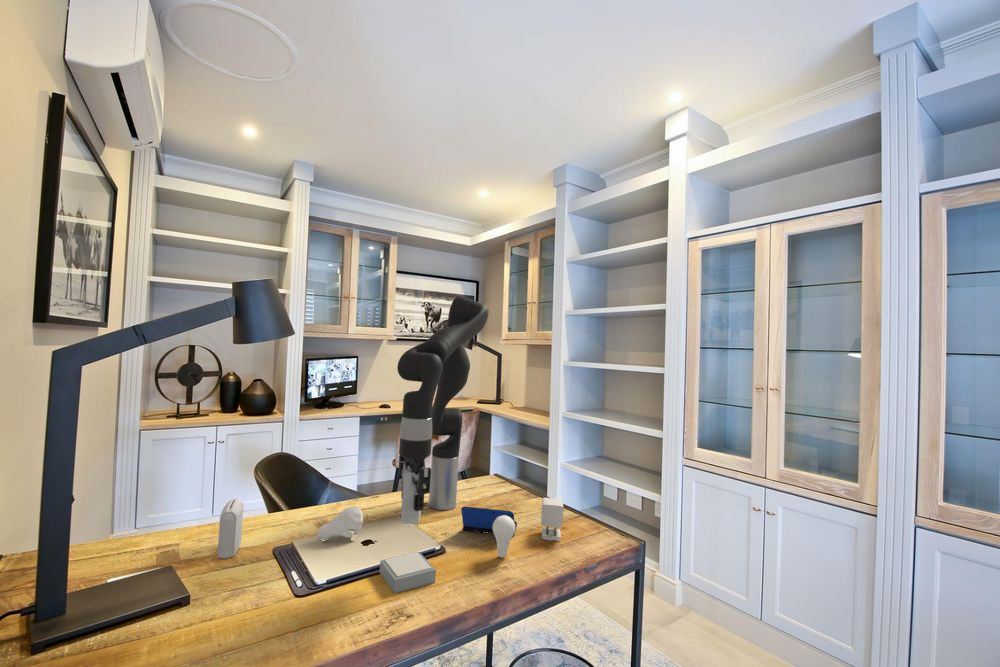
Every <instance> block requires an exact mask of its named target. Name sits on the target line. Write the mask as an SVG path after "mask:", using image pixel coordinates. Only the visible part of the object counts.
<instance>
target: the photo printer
mask: <svg viewBox="0 0 1000 667" xmlns="http://www.w3.org/2000/svg"><path fill="white" fill-rule="evenodd" d="M243 523H244V502H243V501H242V500H241V499H240V498H235V499H234V498H232V499H230V500H229V501H228V502H226V504H225V505H224V507H223V508H222V510H221V513H220V517H219V529H218V541H217V542H218V543H217V557H218V558H219V559H229V558H232V557H234V556H235V555H236V553H237V552H238V549H239V548H240V546H241V543H242V538H243V536H242V535H243Z"/></svg>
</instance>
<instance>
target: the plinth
mask: <svg viewBox="0 0 1000 667" xmlns="http://www.w3.org/2000/svg"><path fill="white" fill-rule="evenodd" d="M436 573H437V569H436V568H435V567H434V565H432V564H431V563H430V562H429V561H428V560H427V558H425V556H424V555H423V554H422V553H421V552H420V551H416V552H412V553H408V554H406V553H405V554H403V555H398V556H394V557H393V556H392V557H388V558H385V559H380V561H379V574H380V575H381V577H382V578H383V580H384V581H385V583H386V584H387V585H388V587H389V589H390V590H391V591H392V592H393V594H397V593H401V592H405V591H408V590H412V589H416V588H420V587H424V586H427V585H432V584H434V583H436V578H437V577H436V576H437V575H436Z"/></svg>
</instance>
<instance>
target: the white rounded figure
mask: <svg viewBox="0 0 1000 667" xmlns="http://www.w3.org/2000/svg"><path fill="white" fill-rule="evenodd" d="M363 515H364V513H363V511H362V508H361V507H360V506H349V507H348V506H347V507H346V508H344V509H343V510H341V511H340V512H339V513H338V514H337V515H336V516H335V517H333V519H332V520H331V521H329V522H328V523H325V524H323V525H321V526H320V527H319V528H317V529H318V530H317V537H318V539H320V540H321V539H323V540H327V539H328V538H329V539H330V538H331V537H345V538H351V537H352V533H351V532H348V531H349V530H350V531H355V532H354V534H353V535H359V536H360V534H361V533H362V532H361V531H362V525H363V523H364V516H363ZM329 539H328V541H330V540H329ZM328 541H327V542H328Z"/></svg>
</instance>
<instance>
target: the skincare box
mask: <svg viewBox="0 0 1000 667" xmlns="http://www.w3.org/2000/svg"><path fill="white" fill-rule="evenodd" d="M418 474H419V473H418ZM411 475H413V476H414V479H415V480H416V481H417V480H419V476H418V475H415V473H414V472H413V473H411V472H409V471H408V468H407V469H405V471H404V476H403V484H402V485H403V493H402V492H401V494H402V499H401V513H400V514H401V515H400V523H401V524H402V525H403V524H409V525H411V524H412V525H418V524H419V522H420V519H421V514H422V510H420V511H415V510H414V494H415V493H414V487H413V486H412V485H411V480H412V479H411ZM417 487H418V484H417Z"/></svg>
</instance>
